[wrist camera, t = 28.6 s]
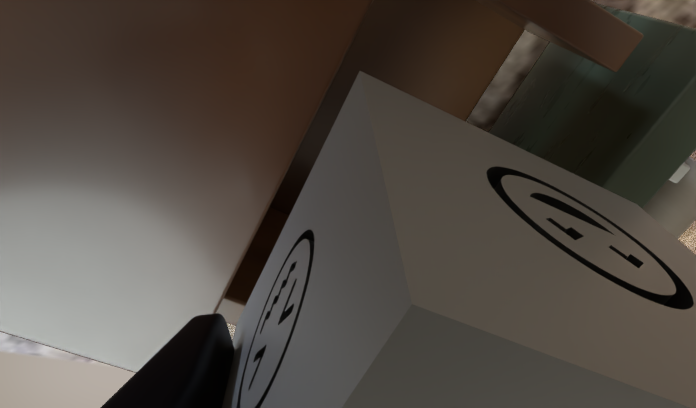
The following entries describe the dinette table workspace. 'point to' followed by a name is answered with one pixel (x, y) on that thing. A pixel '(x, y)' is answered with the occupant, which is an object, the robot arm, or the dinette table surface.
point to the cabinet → (147, 156)
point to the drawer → (526, 99)
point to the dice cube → (461, 279)
